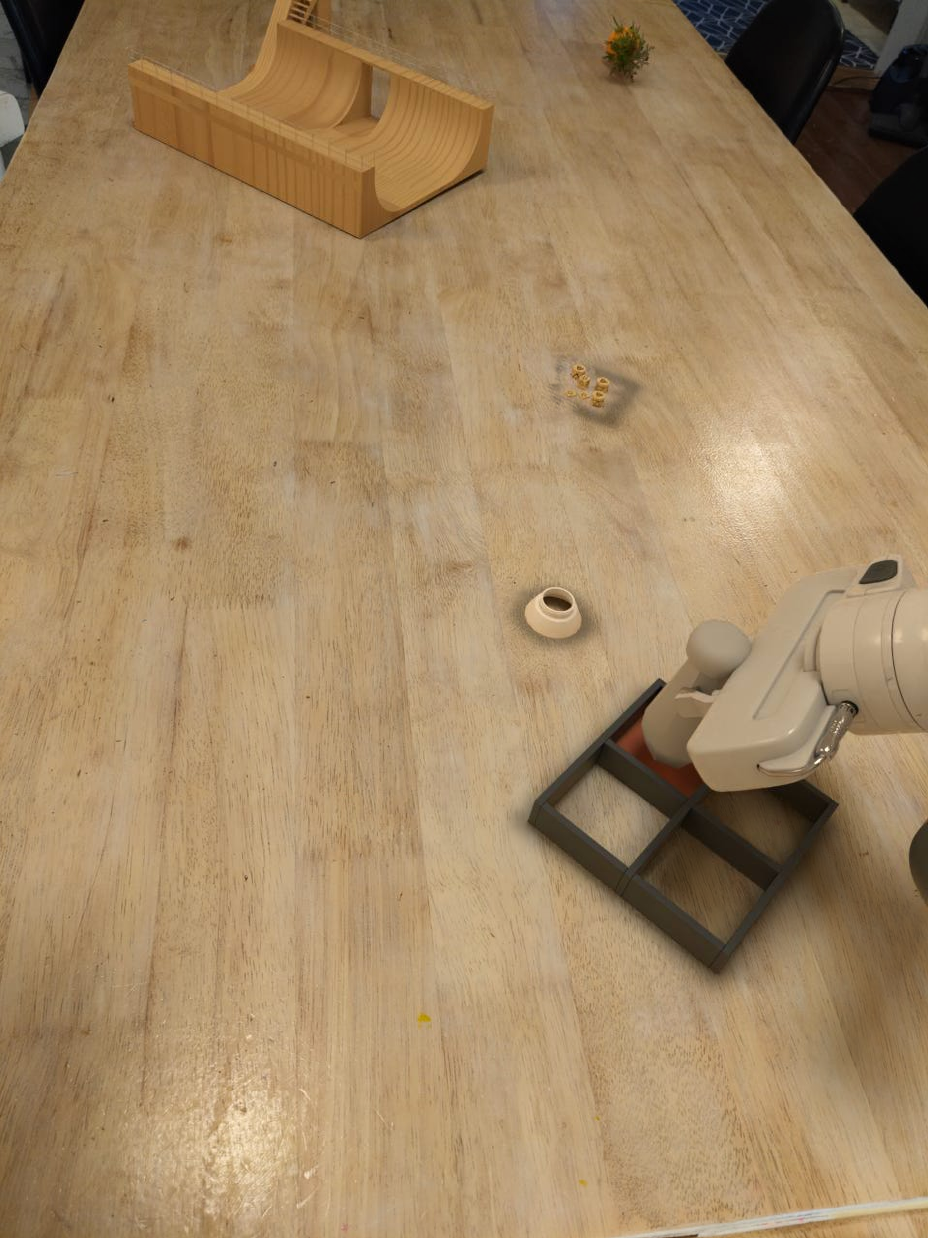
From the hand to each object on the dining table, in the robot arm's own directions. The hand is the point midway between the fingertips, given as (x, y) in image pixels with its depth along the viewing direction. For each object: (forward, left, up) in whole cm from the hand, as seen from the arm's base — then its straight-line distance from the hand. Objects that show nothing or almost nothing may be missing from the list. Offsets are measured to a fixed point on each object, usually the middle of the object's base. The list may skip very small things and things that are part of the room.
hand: (692, 683), depth 74 cm
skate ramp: (+94, -55, -10) cm, 109 cm away
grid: (-5, +4, -10) cm, 12 cm away
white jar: (+15, -6, -10) cm, 19 cm away
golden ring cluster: (+33, -36, -10) cm, 50 cm away
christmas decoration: (+88, -122, -10) cm, 150 cm away
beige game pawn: (-1, 0, -8) cm, 8 cm away
